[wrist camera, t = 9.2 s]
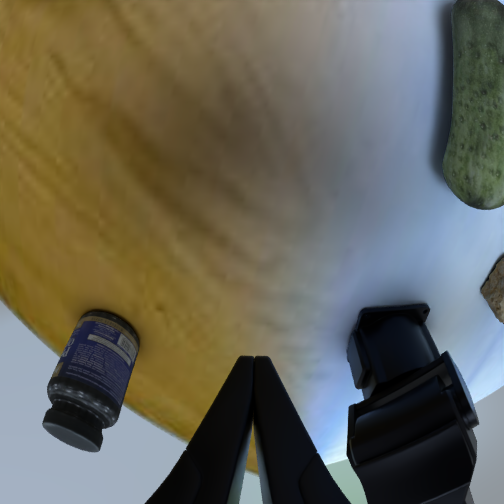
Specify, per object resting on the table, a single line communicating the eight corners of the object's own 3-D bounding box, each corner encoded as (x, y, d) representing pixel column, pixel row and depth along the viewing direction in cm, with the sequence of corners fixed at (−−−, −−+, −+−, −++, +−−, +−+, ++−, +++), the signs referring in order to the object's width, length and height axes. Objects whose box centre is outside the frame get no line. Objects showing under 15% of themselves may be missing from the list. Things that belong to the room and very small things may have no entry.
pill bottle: (77, 300, 23) (22, 405, 14) (142, 320, 24) (103, 439, 15) (84, 344, 26) (45, 437, 17) (140, 361, 27) (112, 463, 18)
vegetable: (520, 222, 13) (478, 229, 13) (468, 189, 18) (421, 191, 17) (536, 6, 6) (490, -31, 5) (477, 4, 10) (426, -21, 10)
